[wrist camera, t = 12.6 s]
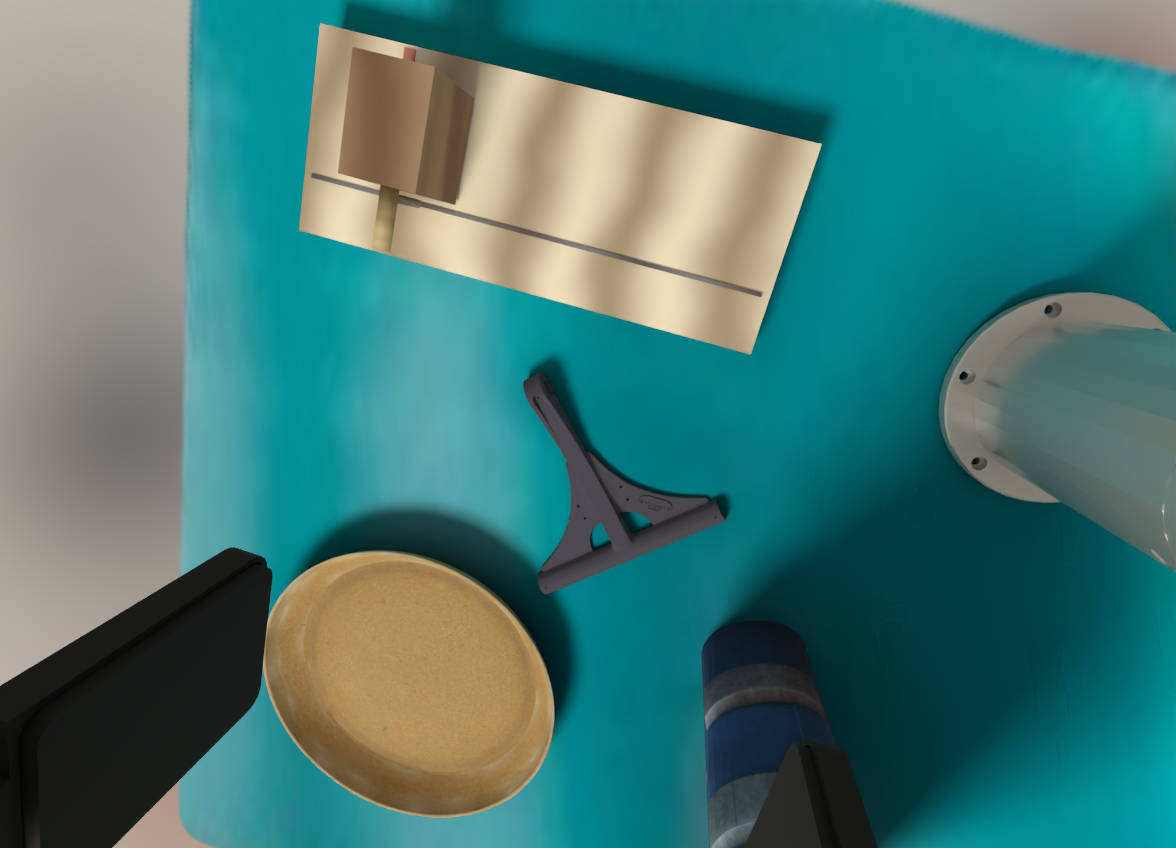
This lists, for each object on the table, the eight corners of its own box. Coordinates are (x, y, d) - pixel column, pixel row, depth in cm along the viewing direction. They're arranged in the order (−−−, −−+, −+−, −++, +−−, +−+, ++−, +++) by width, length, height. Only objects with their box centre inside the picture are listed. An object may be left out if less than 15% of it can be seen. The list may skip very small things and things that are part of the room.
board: (814, 151, 34) (822, 143, 32) (747, 350, 37) (750, 354, 35) (339, 36, 36) (319, 22, 34) (317, 232, 40) (298, 230, 38)
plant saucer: (329, 786, 53) (307, 818, 50) (251, 545, 48) (221, 565, 45) (586, 785, 48) (579, 821, 45) (532, 518, 43) (519, 538, 40)
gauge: (473, 98, 34) (435, 66, 29) (445, 261, 37) (405, 259, 31) (403, 80, 34) (352, 46, 29) (380, 243, 37) (330, 238, 32)
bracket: (628, 325, 39) (623, 329, 36) (725, 515, 41) (727, 532, 38) (454, 417, 43) (438, 427, 40) (551, 586, 45) (542, 606, 42)
